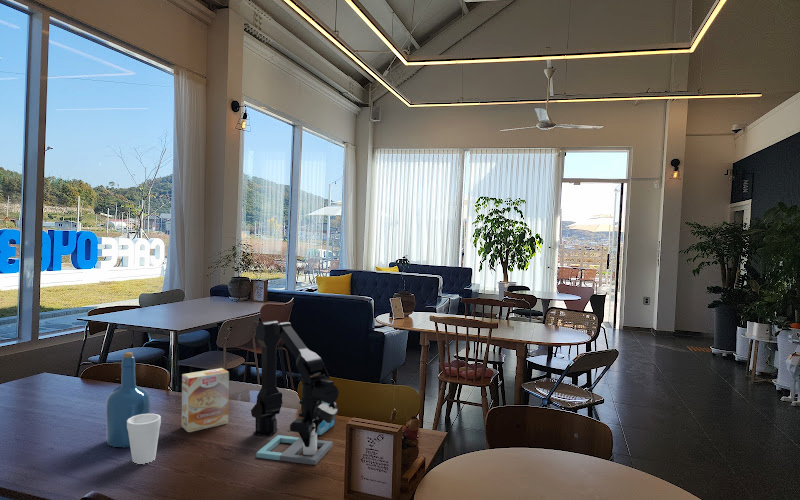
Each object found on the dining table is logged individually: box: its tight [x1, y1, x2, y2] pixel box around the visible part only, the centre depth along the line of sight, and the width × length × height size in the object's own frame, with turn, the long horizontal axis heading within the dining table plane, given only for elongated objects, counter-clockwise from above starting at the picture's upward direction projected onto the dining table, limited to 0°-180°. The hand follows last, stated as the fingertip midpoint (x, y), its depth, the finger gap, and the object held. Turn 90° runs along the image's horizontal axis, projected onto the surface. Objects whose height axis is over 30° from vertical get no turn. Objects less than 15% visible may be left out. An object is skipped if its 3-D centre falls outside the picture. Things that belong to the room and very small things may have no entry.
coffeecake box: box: [181, 367, 230, 433], centre depth 197 cm, size 15×7×20 cm, turn 131°
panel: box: [255, 434, 334, 466], centre depth 176 cm, size 20×15×2 cm
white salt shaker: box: [302, 423, 318, 456], centre depth 175 cm, size 4×4×10 cm
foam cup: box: [127, 413, 162, 465], centre depth 167 cm, size 10×9×13 cm
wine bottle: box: [105, 351, 151, 449], centre depth 181 cm, size 14×13×30 cm
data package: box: [317, 401, 336, 436], centre depth 195 cm, size 12×4×12 cm, turn 160°
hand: (310, 444), depth 175 cm, fingers closed on white salt shaker, 4 cm apart
